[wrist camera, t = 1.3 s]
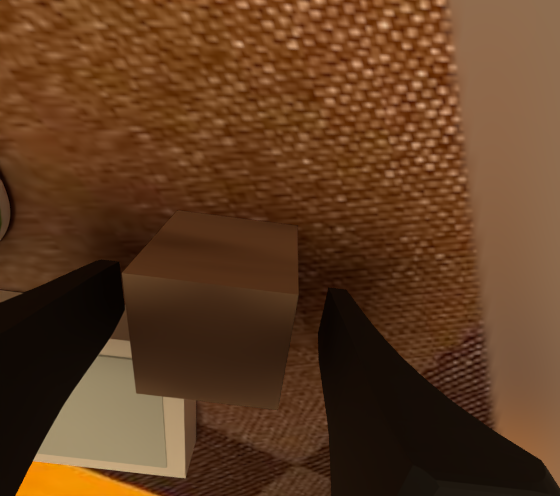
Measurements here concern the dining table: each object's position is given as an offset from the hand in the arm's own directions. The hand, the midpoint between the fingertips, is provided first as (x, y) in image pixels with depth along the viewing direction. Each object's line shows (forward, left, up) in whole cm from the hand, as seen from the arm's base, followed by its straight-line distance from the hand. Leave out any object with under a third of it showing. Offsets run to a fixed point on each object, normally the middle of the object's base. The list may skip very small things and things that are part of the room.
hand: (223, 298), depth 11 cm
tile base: (-7, +6, -2) cm, 10 cm away
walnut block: (0, 0, -2) cm, 2 cm away
